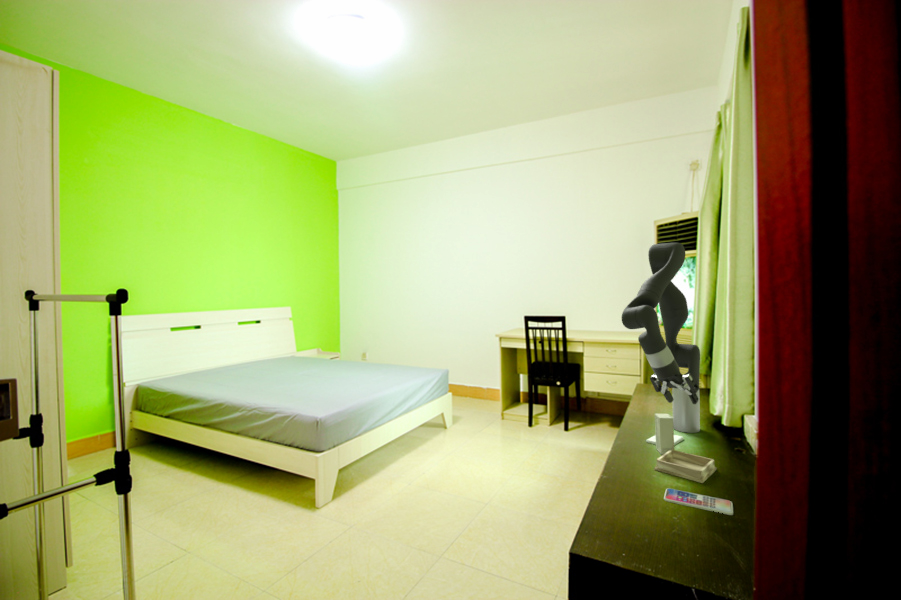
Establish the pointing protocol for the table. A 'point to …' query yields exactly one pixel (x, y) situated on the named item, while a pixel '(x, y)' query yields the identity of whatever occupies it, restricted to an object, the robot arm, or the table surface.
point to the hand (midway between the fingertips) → (683, 402)
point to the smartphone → (699, 501)
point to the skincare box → (664, 433)
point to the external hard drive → (653, 439)
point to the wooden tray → (686, 465)
